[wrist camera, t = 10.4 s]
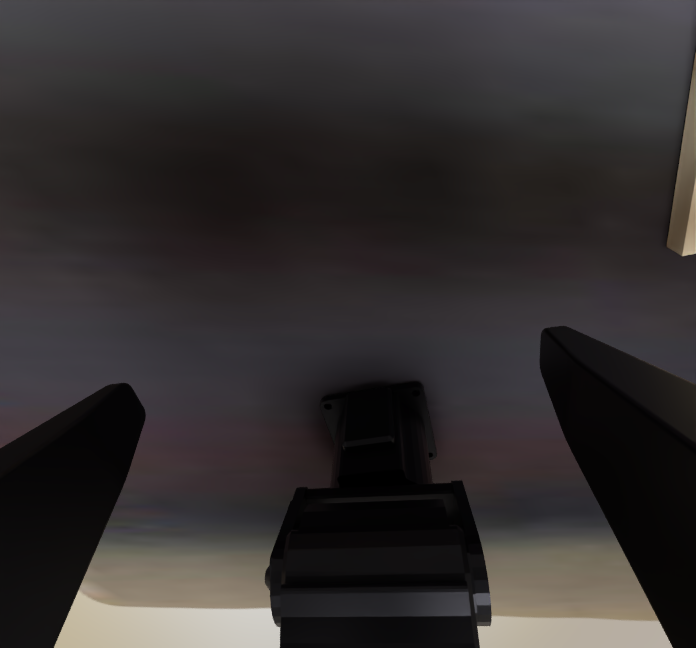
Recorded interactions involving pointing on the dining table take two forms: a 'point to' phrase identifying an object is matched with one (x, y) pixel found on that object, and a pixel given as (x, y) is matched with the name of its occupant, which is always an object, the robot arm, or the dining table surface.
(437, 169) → the dining table surface
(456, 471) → the dining table surface
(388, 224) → the dining table surface
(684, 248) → the clip bracket board
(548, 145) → the dining table surface
